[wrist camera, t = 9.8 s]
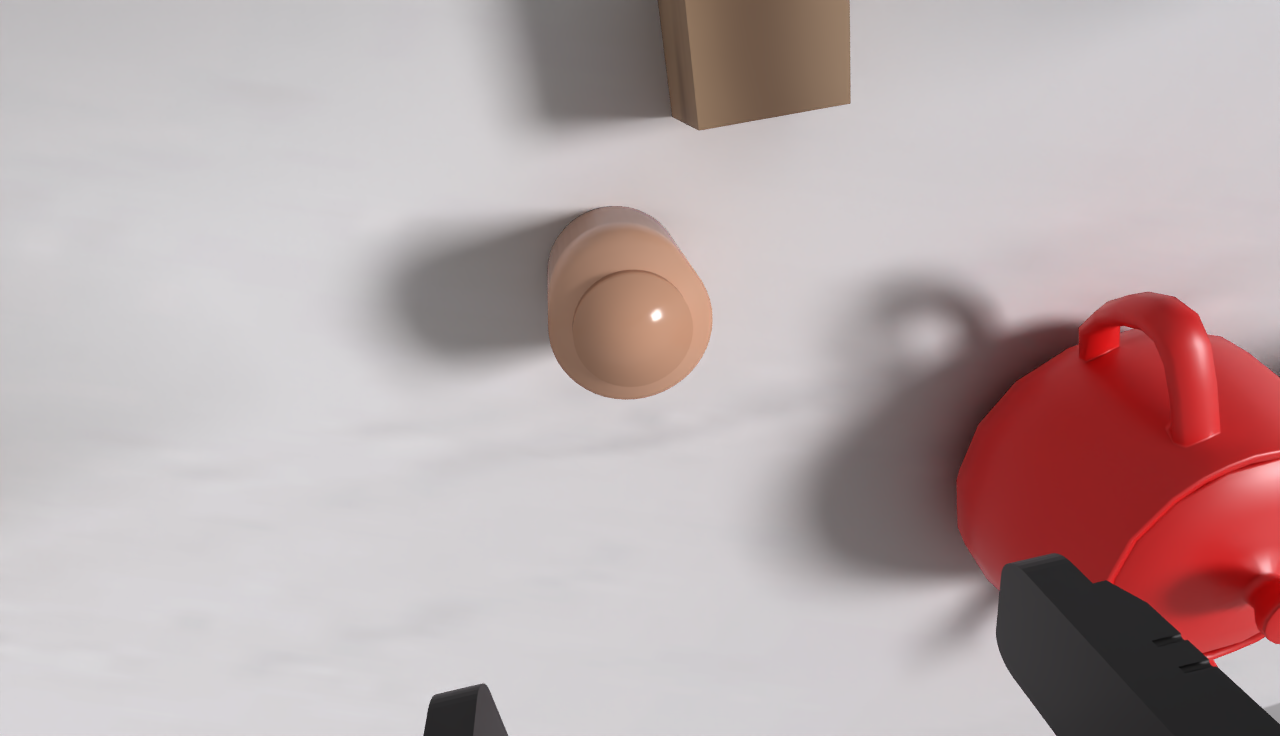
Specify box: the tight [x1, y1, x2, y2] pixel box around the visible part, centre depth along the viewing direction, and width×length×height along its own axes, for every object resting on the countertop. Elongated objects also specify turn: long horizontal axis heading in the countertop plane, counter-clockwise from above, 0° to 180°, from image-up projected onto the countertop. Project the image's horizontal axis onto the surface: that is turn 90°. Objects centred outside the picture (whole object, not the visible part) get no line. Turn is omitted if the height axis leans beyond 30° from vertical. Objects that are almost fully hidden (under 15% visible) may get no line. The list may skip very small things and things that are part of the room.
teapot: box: [956, 292, 1280, 667], centre depth 30 cm, size 25×16×12 cm, turn 25°
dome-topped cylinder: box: [547, 206, 712, 399], centre depth 25 cm, size 6×6×7 cm
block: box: [658, 0, 850, 130], centre depth 22 cm, size 5×5×5 cm
